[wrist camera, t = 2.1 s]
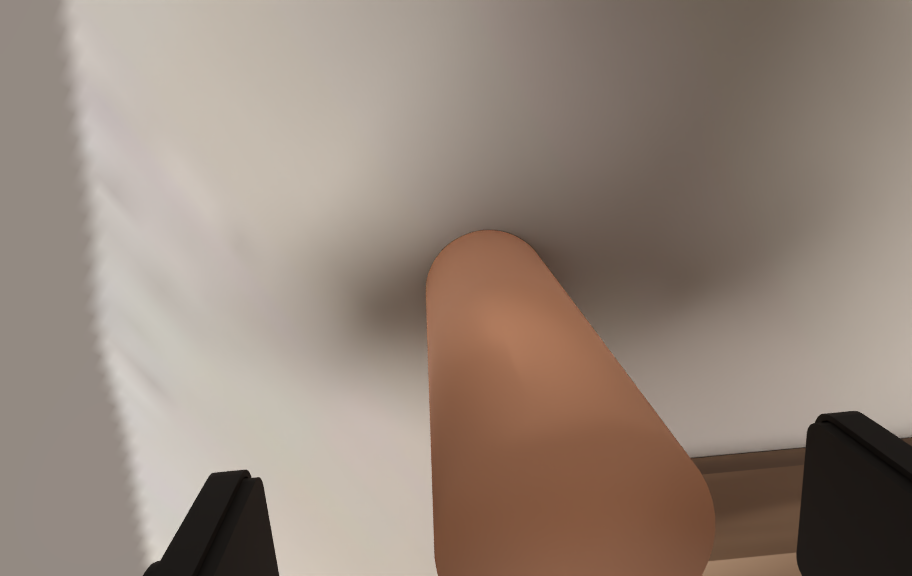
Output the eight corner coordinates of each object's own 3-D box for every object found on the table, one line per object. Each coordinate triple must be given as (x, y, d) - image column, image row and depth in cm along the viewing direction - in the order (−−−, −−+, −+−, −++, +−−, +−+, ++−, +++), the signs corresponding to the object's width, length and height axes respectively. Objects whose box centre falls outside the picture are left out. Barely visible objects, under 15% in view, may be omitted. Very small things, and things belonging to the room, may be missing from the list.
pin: (420, 235, 20) (422, 431, 8) (546, 225, 20) (723, 404, 8) (430, 352, 21) (445, 667, 9) (549, 342, 21) (708, 640, 9)
